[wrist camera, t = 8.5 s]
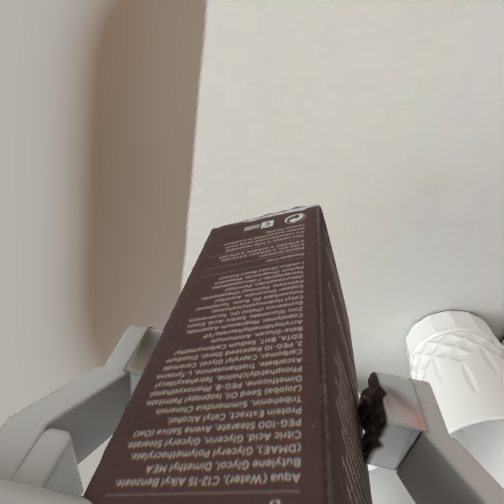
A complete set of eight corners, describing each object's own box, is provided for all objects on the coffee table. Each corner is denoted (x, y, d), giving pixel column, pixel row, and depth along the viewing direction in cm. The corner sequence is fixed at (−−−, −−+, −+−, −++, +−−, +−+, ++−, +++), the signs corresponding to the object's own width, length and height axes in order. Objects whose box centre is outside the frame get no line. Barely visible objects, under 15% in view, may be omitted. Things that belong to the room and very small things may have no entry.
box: (203, 228, 14) (-101, 817, 3) (320, 200, 12) (416, 963, 2) (251, 342, 16) (166, 857, 6) (351, 327, 15) (456, 930, 5)
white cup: (437, 383, 33) (482, 502, 25) (378, 339, 31) (404, 452, 23) (519, 339, 30) (604, 462, 21) (456, 287, 28) (522, 397, 19)
